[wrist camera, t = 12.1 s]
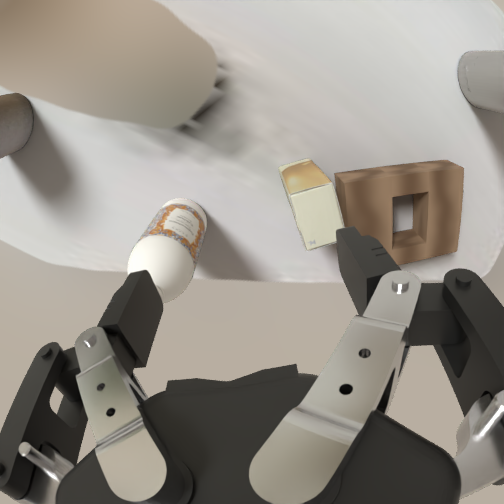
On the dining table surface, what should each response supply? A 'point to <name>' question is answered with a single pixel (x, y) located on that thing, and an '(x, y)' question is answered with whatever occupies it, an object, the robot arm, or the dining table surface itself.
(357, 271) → the robot arm
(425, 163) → the walnut holder block
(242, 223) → the dining table surface
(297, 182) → the skincare box
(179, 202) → the bath foam
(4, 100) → the pillar candle
